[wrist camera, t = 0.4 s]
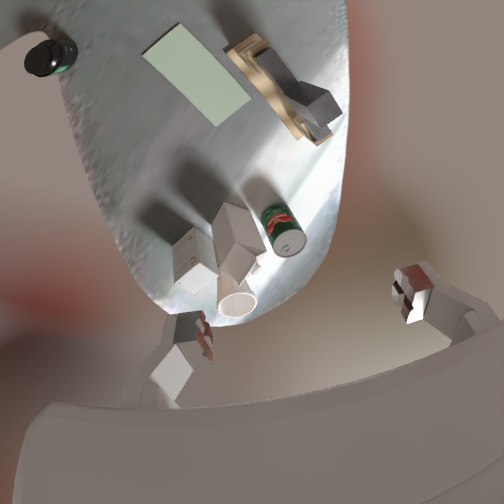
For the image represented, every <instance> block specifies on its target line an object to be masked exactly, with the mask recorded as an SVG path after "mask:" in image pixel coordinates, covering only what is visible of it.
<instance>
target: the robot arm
mask: <svg viewBox="0 0 504 504" xmlns="http://www.w3.org/2000/svg"><path fill="white" fill-rule="evenodd" d="M394 277H395V279H396V281H395V282H394V283H393V286H392V295H393V299H394V301H395V303H396V305H397V306H399V307H401V308H402V309H401V314H402V316H403V317H404V319H405V321H406V323H410V322H413V321H416V320H420V319H423V320H425V321H426V322H428V323H429V324H430V325H432V326H433V327H435V328H436V329H437V330H439V331H440V332H442V333H443V334H444V335H446V336H447V337H449V338H450V339H451V340H452V342H451V344H450V346H449V347H448V348H446V349H443V350H441V351H439V352H436V353H434V354H431V355H429V356H427V357H424V358H422V359H419V360H416V361H414V362H411V363H408V364H406V365H403V366H400V367H397V368H394V369H391V370H388V371H385V372H382V373H379V374H376V375H373V376H370V377H366V378H363V379H359V380H356V381H352V382H349V383H345V384H341V385H337V386H333V387H329V388H325V389H321V390H317V391H312V392H307V393H303V394H298V395H293V396H287V397H282V398H276V399H270V400H263V401H256V402H249V403H241V404H232V405H223V406H213V407H212V406H211V407H197V408H180V407H179V406H178V405H177V404H176V403H175V402H174V400H175V398H176V397H177V395H178V394H179V392H180V391H181V389H182V387H183V386H184V384H185V383H186V381H187V379H188V378H189V376H190V375H191V373H192V371H193V369H197V368H204V367H212V360H213V353H212V351H211V349H210V348H211V346H212V345H213V336H212V331H211V327H210V325H209V323H207V322H205V317H206V316H205V314H204V312H203V311H201V310H200V311H193V312H185V313H179V314H171V315H168V316H167V317H166V319H165V324H164V330H163V335H162V340H161V345H160V346H157V347H156V348H155V349H154V350H153V351H152V353H151V354H150V355H149V356H148V357H147V358H146V359H145V360H144V362H143V363H142V364H141V365H140V366H139V367H138V369H137V370H136V371H135V372H134V373H133V374H132V375H131V376H130V378H129V379H128V380H127V381H126V382H125V384H124V388H123V393H122V398H121V403H120V408H111V407H97V406H87V405H78V404H69V403H63V402H53V403H51V404H50V405H49V406H47V407H46V408H45V409H44V410H43V411H42V412H41V413H40V414H39V415H38V416H37V417H36V418H35V419H34V420H33V421H32V423H31V424H30V426H29V429H28V431H27V434H26V436H25V439H24V443H23V446H22V450H21V454H20V458H19V462H18V467H17V472H16V478H15V485H14V493H13V504H504V319H503V320H502V321H500V320H499V318H498V317H497V315H496V314H495V312H494V311H493V310H492V308H491V307H490V306H489V304H488V303H487V302H485V301H483V300H481V299H479V298H477V297H475V296H473V295H471V294H469V293H467V292H465V291H462V290H460V289H458V288H456V287H454V286H452V285H450V284H448V283H446V284H444V282H443V281H442V280H441V279H440V277H439V276H438V275H437V273H436V272H435V271H434V270H433V268H432V267H431V266H430V265H429V264H428V263H427V262H426V261H423V262H420V263H417V264H413V265H410V266H406V267H403V268H399V269H396V271H395V274H394Z"/></svg>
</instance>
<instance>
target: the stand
mask: <svg viewBox="0 0 504 504" xmlns="http://www.w3.org/2000/svg"><path fill="white" fill-rule="evenodd" d="M268 44H269V43H268V41H267V40H266V39H261V38H260V37H259V36H258V35H257V33H254V34H252V35H251V36H249V37H248V38H246V39H245V40H244V41H242V42H241V43H239V44H238V45H236V46H235V47H234V48H232V49H231V50H230V51H228V52H227V53H225V54H226V55H227V56H228V57H229V58H230V59H231V60H232V61H233V63H234V64H235V65H236V66H237V67H238V68H239V69H240V70H241V72H242V73H243V74H244V75H245V76H246V77H247V78H248V80H249V81H250V82H251V83H252V84H253V85H254V87H255V88H256V89H257V90H258V91H259V93H260V94H261V95H262V96H263V97H264V99H265V100H266V101H267V102H268V104H269V105H270V106H271V107H272V109H273V110H274V111H275V112H276V114H277V115H278V116H279V117H280V119H281V120H282V121H283V123H284V124H285V125H286V127H287V128H288V129H289V131H290V132H291V133H292V135H293V136H294V137H295V139H296V140H299V139H300V138H301V137H303V136H305V137H306V138H307V139H309V140H310V141H311V142H312V143H314V144H315V145H316V146H319V145H320V144H321V143H323V142H324V141H325V140H327V139H328V138H329V137H331V136H332V135H333V133H330V134H329V135H328V136H326V137H325V138H324V139H322V140H321V141H317V140H316V139H315V138H313V137H312V136H311V134H310V133H309V131H308V130H307V128H306V127H305V125H304V124H303V123H302V121H301V120H300V118H299V117H298V116H297V114H296V113H295V112H294V110H293V109H292V107H291V106H290V105H289V103H288V102H287V101H286V99H285V98H284V97H283V95H282V94H281V93H280V92H279V90H278V89H277V88H276V86H275V85H274V84H273V83H272V81H271V80H270V79H269V78H268V76H267V75H266V74H265V73H264V71H263V70H262V69H261V68H260V67H259V65H258V64H257V63H256V62H255V61H254V60H253V58H252V57H253V56H255V55H256V54H257V53H259V52H260V51H262V50H263V49H265V48H270V47H269V46H268ZM330 131H331V130H330ZM331 132H332V131H331Z"/></svg>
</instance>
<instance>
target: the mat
mask: <svg viewBox="0 0 504 504" xmlns="http://www.w3.org/2000/svg"><path fill="white" fill-rule="evenodd" d="M143 57H144V58H145V59H146V60H147V61H148V62H150V63H151V64H152V65H153V66H154V67H155V68H156V69H157V70H158V71H159V72H160V73H161V74H163V75H164V76H165V77H166V78H167V79H168V80H169V81H170V82H171V83H172V84H173V85H174V86H175V87H176V88H177V89H178V90H179V91H180V92H181V93H182V94H184V95H185V96H186V97H187V98H188V99H189V100H190V101H191V102H192V103H193V104H194V105H195V106H196V107H197V108H198V109H199V110H200V111H201V112H202V113H203V114H204V115H205V116H206V117H207V118H208V119H209V120H210V121H211V122H212V123H213V124H214V125H215V126H216V127H217V126H218V125H219V124H220V123H222V122H223V121H224V120H225V119H226V118H228V117H229V116H230V115H231V114H233V113H234V112H235V111H236V110H238V109H239V108H240V107H241V106H243V105H244V104H245V103H246V102H248V101H249V100H250V99H252V98H251V97H250V96H249V95H248V94H247V93H246V92H245V90H244V89H243V88H242V87H241V86H240V85H239V84H238V82H237V81H236V80H235V79H234V78H233V77H232V76H231V75H230V74H229V72H228V71H227V70H226V69H225V68H224V67H223V66H222V65H221V64H220V63H219V62H218V61H217V60H216V59H215V57H214V56H213V55H212V54H211V53H210V52H209V51H208V50H207V49H206V48H205V47H204V46H203V45H202V44H201V43H200V42H199V41H198V40H197V39H196V38H195V37H194V36H193V35H192V34H191V33H190V32H189V31H188V30H187V29H186V28H185V27H183V26H182V25H181V24H179V25H178V26H176V27H175V28H174V29H173V30H171V31H170V32H169V33H168V34H166V35H165V36H164V37H163V38H162V39H161V40H159V41H158V42H157V43H156V44H155V45H154V46H153V47H152V48H150V49H149V50H148V51H147V52H146V53H145V54H144V55H143Z"/></svg>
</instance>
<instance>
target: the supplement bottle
mask: <svg viewBox="0 0 504 504" xmlns="http://www.w3.org/2000/svg"><path fill="white" fill-rule="evenodd" d="M77 55H78V48H77V46H76V44H75V43H74V42H73V41H71V40H66V39H50V40H45V41H43V42H41V43H40V44H39V45H37V46H36V47H34V48H32V49H31V50H30V51H29V52H28V53H27V55H26V58H25V61H24V65H25V66H24V67H25V69H26V71H27V72H28V73H31V74H34V75H35V76H38V77H46V76H50V75H53V74H57V73H60V72H64V71H66V70H68V69H69V68H70V67H71V66H72V65H73V64H74V63H75V61H76V59H77Z"/></svg>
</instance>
